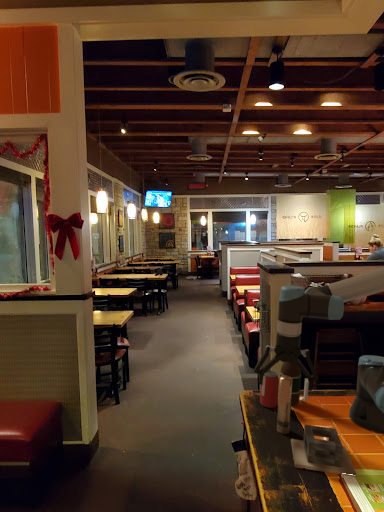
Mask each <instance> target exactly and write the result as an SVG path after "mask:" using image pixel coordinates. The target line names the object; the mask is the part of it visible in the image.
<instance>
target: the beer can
mask: <svg viewBox="0 0 384 512" xmlns="http://www.w3.org/2000/svg"><path fill="white" fill-rule="evenodd" d="M265 376H266V377H265V391H264V396H262V385H261V384H260V390H259V391H260V394H259V395H260V396H259V397H260V398H259V403H260V404H261V405H262V406H263V407H265V408H269V409H273V408H275V407H278V399H279V382H280V377H279V376H278V373H277V372H276V371H272V370H268V371H267V372H266V373H265Z"/></svg>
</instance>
